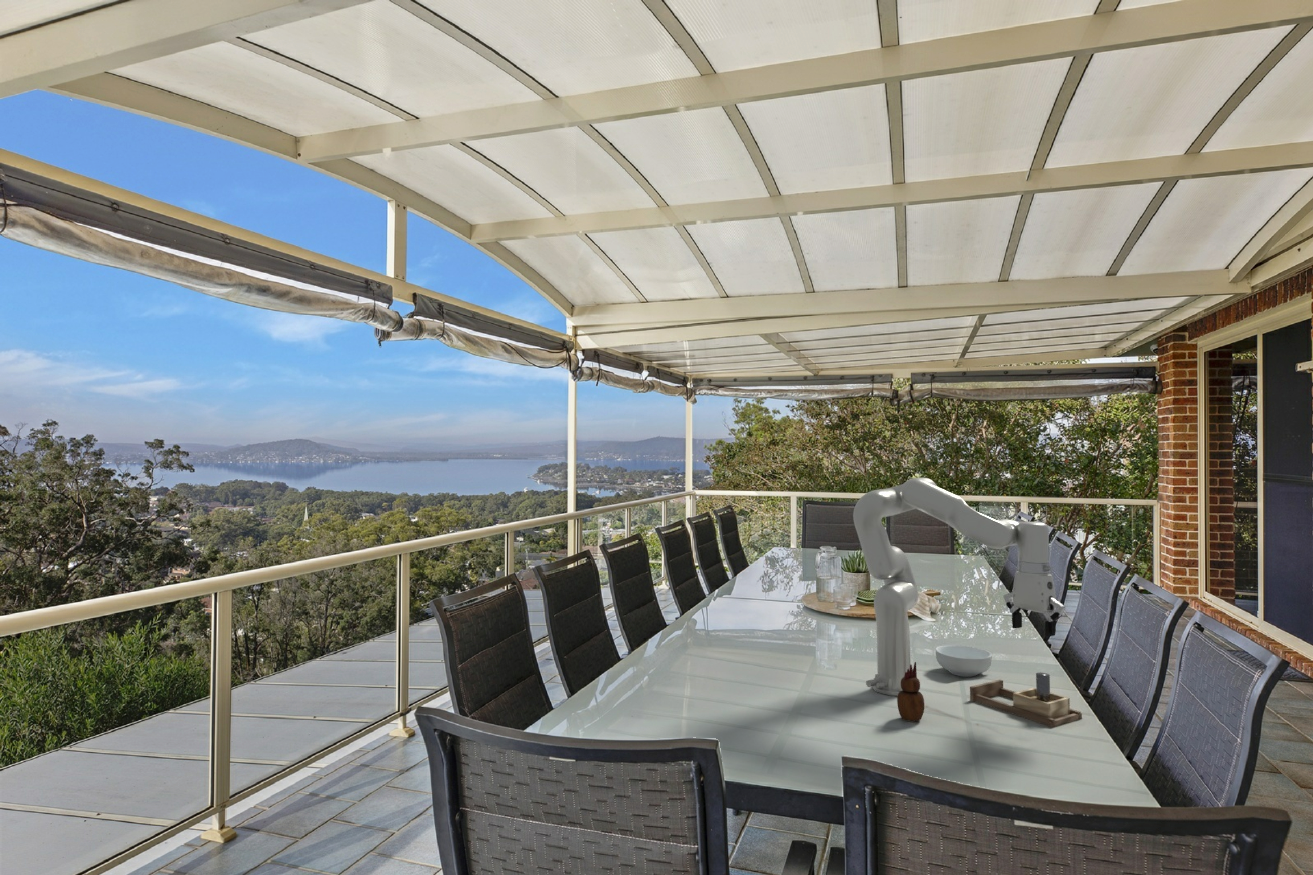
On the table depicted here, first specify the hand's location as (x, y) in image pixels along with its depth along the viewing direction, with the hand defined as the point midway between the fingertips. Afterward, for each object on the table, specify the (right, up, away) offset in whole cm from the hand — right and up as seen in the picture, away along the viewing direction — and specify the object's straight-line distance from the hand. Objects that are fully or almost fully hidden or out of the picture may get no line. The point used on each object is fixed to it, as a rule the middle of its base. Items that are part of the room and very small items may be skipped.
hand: (1033, 631), depth 198 cm
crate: (+1, -21, -3) cm, 21 cm away
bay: (-2, -23, +2) cm, 23 cm away
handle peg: (+1, -21, -3) cm, 21 cm away
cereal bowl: (-3, -24, +39) cm, 45 cm away
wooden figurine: (-34, -23, -2) cm, 41 cm away
